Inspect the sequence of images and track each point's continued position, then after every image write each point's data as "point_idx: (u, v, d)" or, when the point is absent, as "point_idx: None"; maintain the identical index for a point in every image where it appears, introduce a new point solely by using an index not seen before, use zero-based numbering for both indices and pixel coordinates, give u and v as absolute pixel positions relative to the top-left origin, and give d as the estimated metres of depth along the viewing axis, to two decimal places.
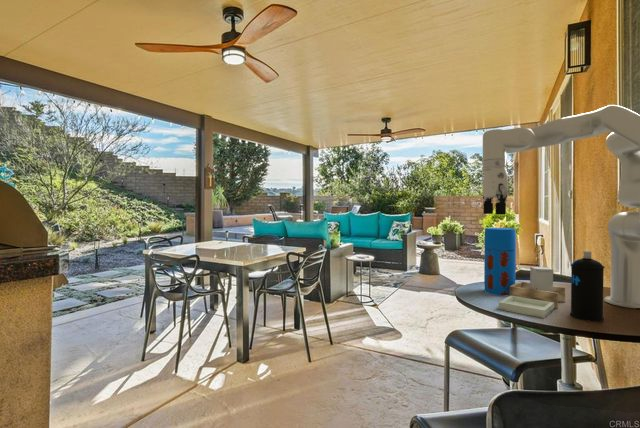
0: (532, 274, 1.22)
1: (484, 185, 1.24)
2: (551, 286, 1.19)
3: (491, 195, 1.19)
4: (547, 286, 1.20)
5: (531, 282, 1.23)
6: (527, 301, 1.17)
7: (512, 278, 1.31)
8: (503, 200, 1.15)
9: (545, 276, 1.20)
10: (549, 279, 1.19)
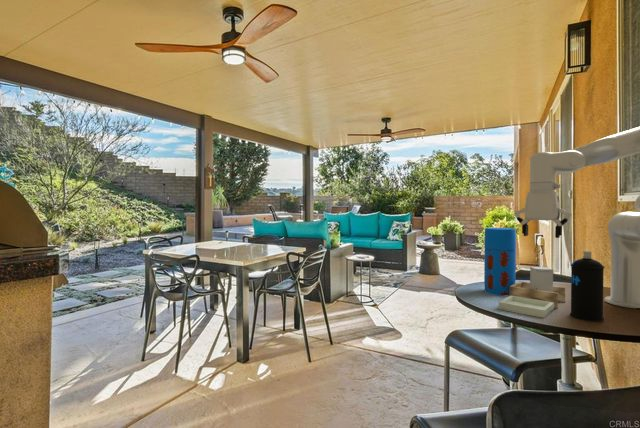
0: (532, 274, 1.22)
1: (531, 207, 1.22)
2: (551, 286, 1.19)
3: (549, 218, 1.18)
4: (547, 286, 1.20)
5: (531, 282, 1.23)
6: (527, 301, 1.17)
7: (512, 278, 1.31)
8: None
9: (544, 276, 1.20)
10: (549, 279, 1.19)
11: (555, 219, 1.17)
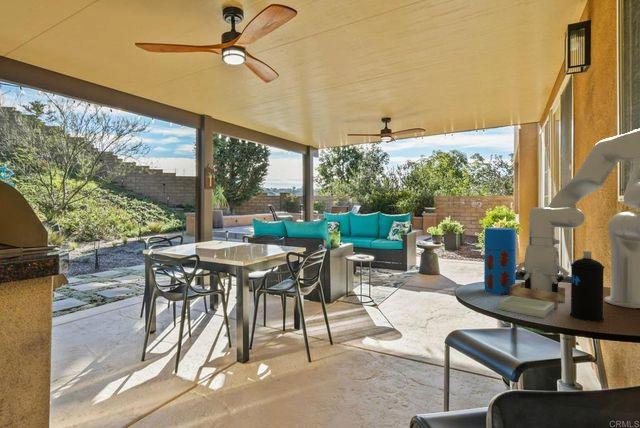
0: (532, 274, 1.22)
1: (531, 261, 1.22)
2: (551, 286, 1.19)
3: (548, 274, 1.18)
4: (547, 286, 1.20)
5: (531, 282, 1.23)
6: (527, 301, 1.17)
7: (512, 278, 1.31)
8: None
9: (545, 276, 1.20)
10: (549, 279, 1.19)
11: (553, 276, 1.18)
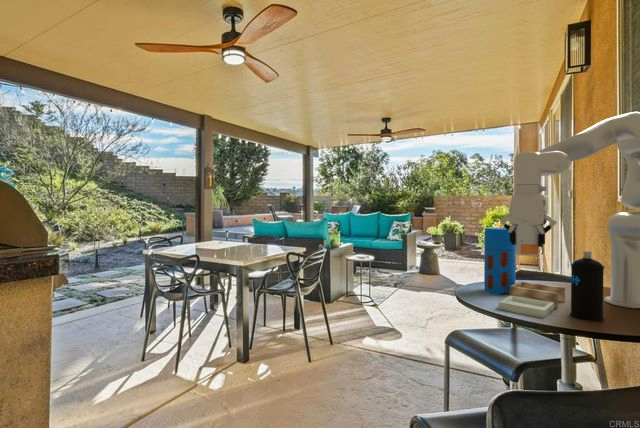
0: (517, 225, 1.13)
1: (516, 211, 1.12)
2: (537, 237, 1.10)
3: (534, 224, 1.09)
4: (533, 237, 1.10)
5: (517, 234, 1.13)
6: (527, 301, 1.17)
7: (512, 278, 1.31)
8: (547, 231, 1.08)
9: (530, 227, 1.10)
10: (535, 229, 1.10)
11: (539, 226, 1.08)
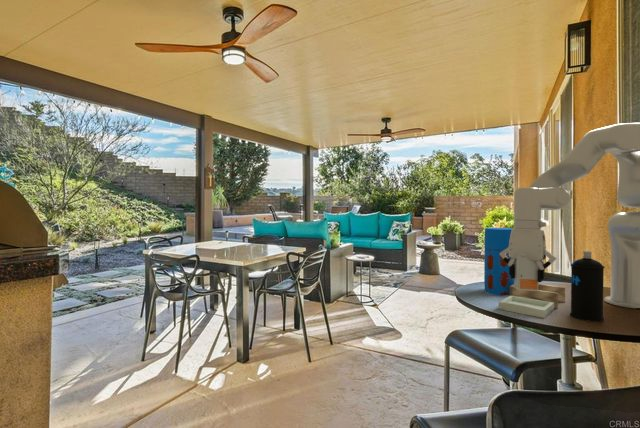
0: (517, 260, 1.13)
1: (515, 246, 1.13)
2: (537, 272, 1.10)
3: (534, 259, 1.09)
4: (532, 272, 1.10)
5: (516, 268, 1.13)
6: (527, 301, 1.17)
7: None
8: (546, 267, 1.09)
9: (530, 262, 1.10)
10: (535, 264, 1.10)
11: (538, 262, 1.09)
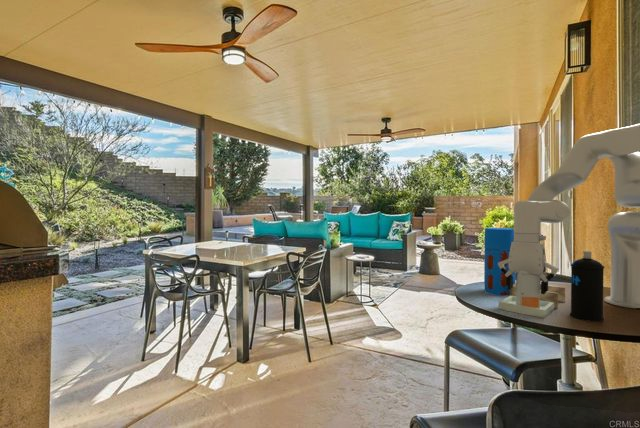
0: (518, 277, 1.13)
1: (515, 259, 1.13)
2: (538, 290, 1.10)
3: (534, 273, 1.09)
4: (534, 290, 1.10)
5: (517, 286, 1.13)
6: None
7: None
8: None
9: (531, 280, 1.10)
10: (536, 282, 1.10)
11: (541, 274, 1.08)
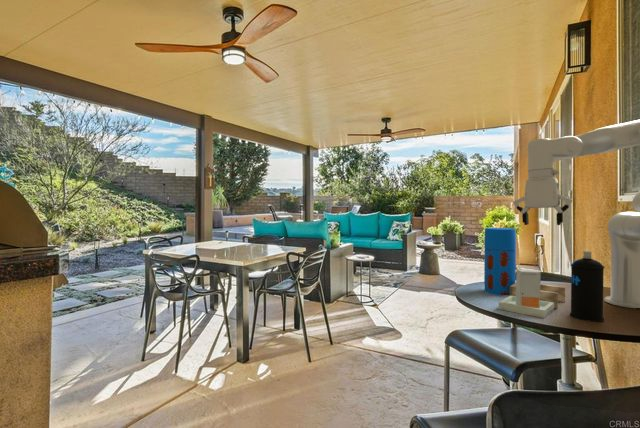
0: (518, 277, 1.13)
1: (531, 195, 1.19)
2: (538, 290, 1.10)
3: (549, 206, 1.16)
4: (534, 290, 1.10)
5: (517, 286, 1.13)
6: None
7: (512, 278, 1.31)
8: (564, 210, 1.15)
9: (531, 280, 1.10)
10: (536, 282, 1.10)
11: (556, 206, 1.15)
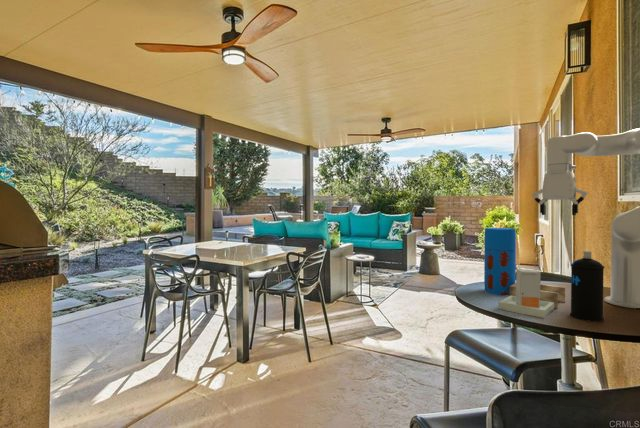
0: (518, 277, 1.13)
1: (549, 187, 1.30)
2: (538, 290, 1.10)
3: (566, 197, 1.27)
4: (534, 290, 1.10)
5: (517, 286, 1.13)
6: None
7: (512, 278, 1.31)
8: None
9: (531, 280, 1.10)
10: (536, 282, 1.10)
11: (572, 198, 1.26)
